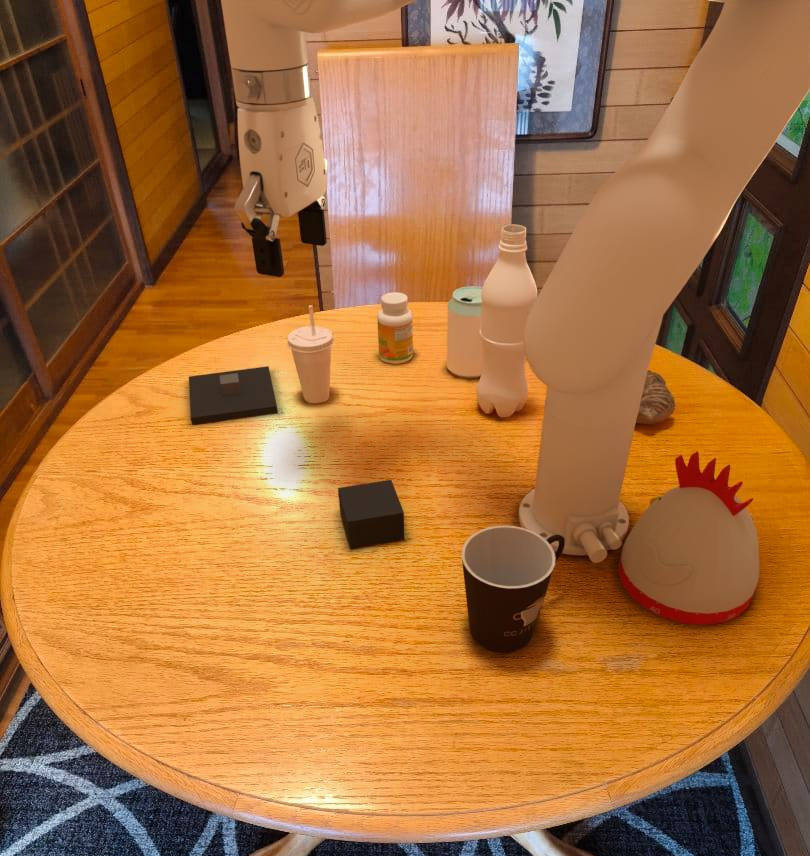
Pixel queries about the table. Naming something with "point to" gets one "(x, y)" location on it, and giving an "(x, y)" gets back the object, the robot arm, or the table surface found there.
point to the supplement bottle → (395, 329)
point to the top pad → (371, 513)
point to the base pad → (231, 395)
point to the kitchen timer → (693, 549)
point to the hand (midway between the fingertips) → (293, 258)
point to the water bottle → (506, 326)
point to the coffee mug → (506, 584)
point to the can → (465, 332)
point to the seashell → (655, 400)
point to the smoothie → (312, 359)
